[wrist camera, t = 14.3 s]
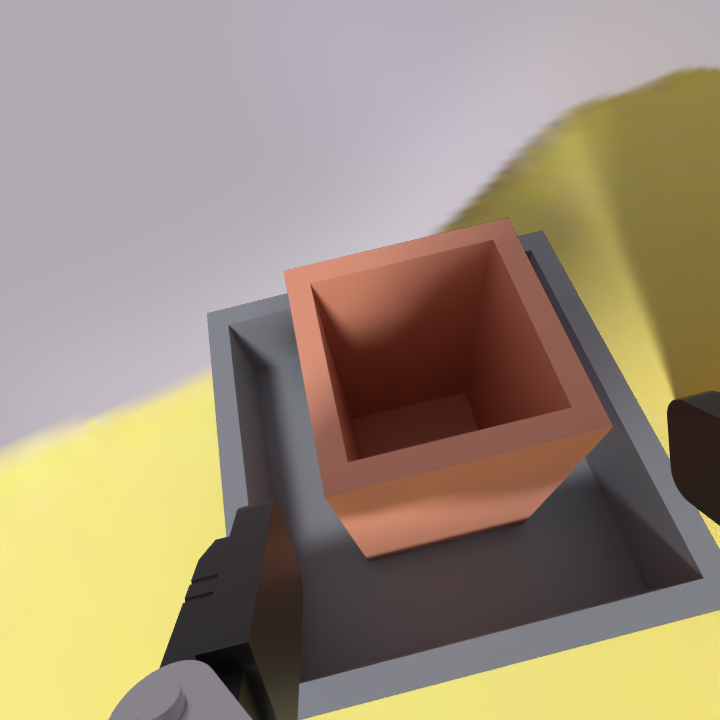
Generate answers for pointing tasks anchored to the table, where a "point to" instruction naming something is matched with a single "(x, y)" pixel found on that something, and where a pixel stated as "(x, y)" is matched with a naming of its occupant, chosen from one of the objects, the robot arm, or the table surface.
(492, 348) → the orange square cup
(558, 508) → the charcoal crate
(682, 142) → the table surface
